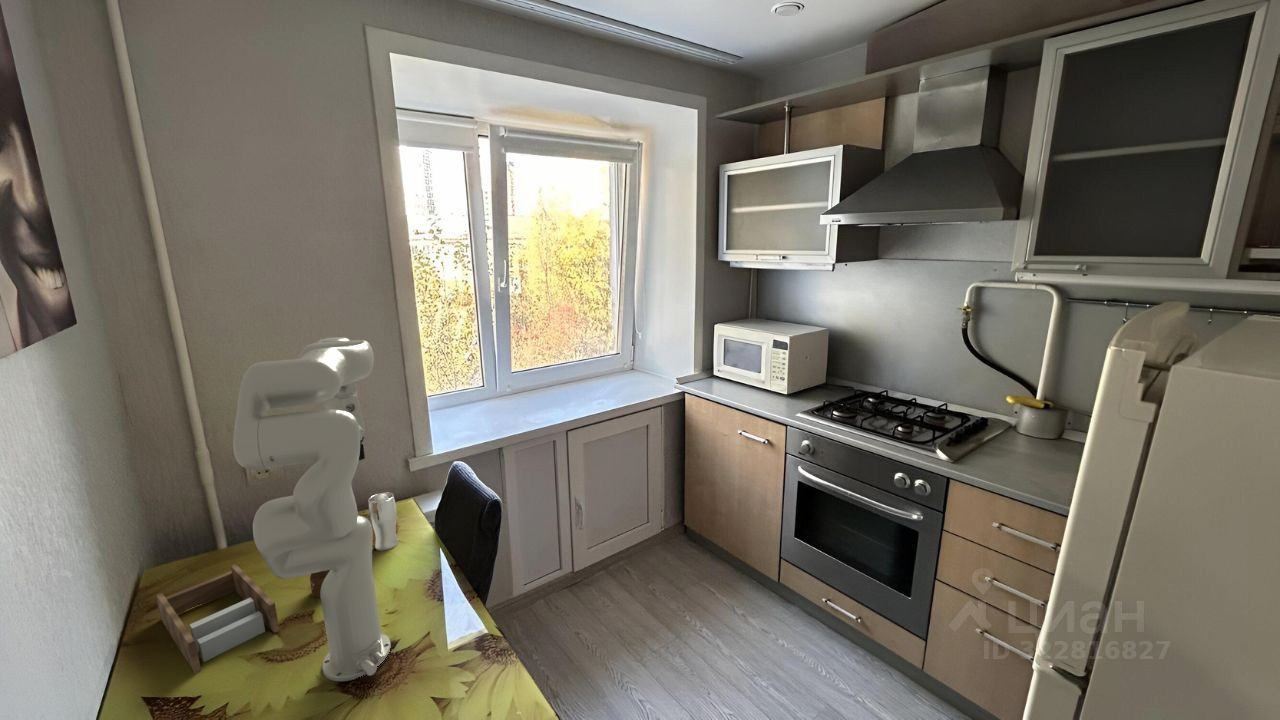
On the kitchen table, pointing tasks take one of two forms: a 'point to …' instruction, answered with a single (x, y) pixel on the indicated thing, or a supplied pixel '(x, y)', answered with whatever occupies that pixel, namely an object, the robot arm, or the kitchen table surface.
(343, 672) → the robot arm
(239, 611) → the offcut near
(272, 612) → the rack
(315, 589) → the utensil holder
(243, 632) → the offcut front
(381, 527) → the beer glass
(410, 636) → the kitchen table surface
